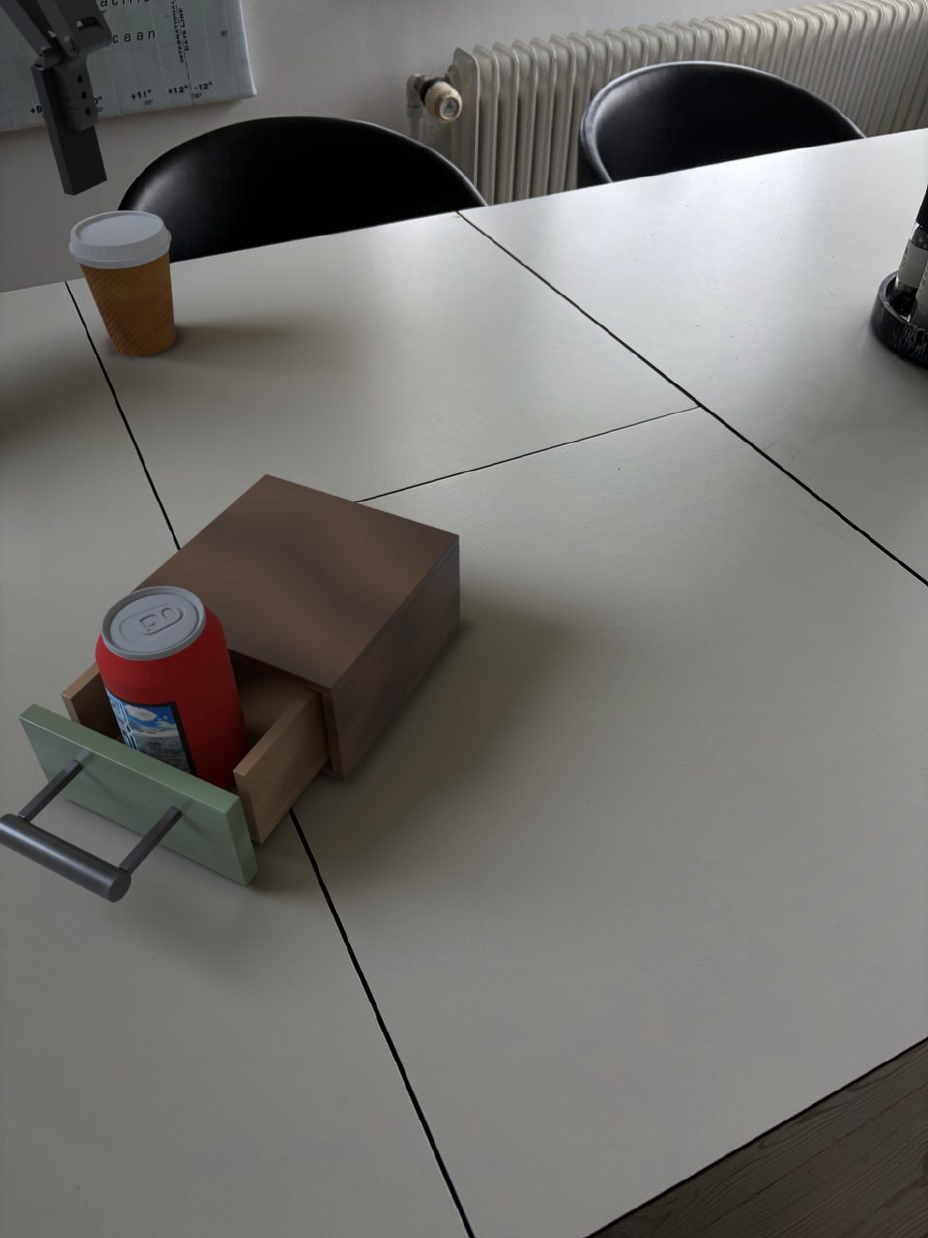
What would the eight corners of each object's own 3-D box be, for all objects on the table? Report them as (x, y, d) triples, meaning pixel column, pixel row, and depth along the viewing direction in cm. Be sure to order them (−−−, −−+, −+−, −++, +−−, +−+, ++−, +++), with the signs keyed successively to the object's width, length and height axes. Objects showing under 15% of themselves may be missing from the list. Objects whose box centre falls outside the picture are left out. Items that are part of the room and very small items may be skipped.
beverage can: (119, 759, 61) (64, 614, 53) (217, 705, 64) (179, 560, 56) (172, 829, 57) (122, 685, 49) (273, 769, 60) (242, 624, 52)
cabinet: (344, 783, 62) (331, 688, 56) (147, 698, 67) (116, 603, 62) (460, 628, 72) (459, 534, 66) (281, 565, 78) (265, 473, 72)
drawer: (179, 974, 52) (150, 903, 47) (-22, 865, 57) (-66, 791, 52) (379, 712, 65) (373, 637, 61) (202, 642, 70) (183, 567, 65)
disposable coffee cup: (79, 358, 102) (44, 241, 93) (129, 316, 108) (101, 203, 100) (162, 372, 99) (135, 253, 91) (208, 328, 106) (186, 214, 98)
